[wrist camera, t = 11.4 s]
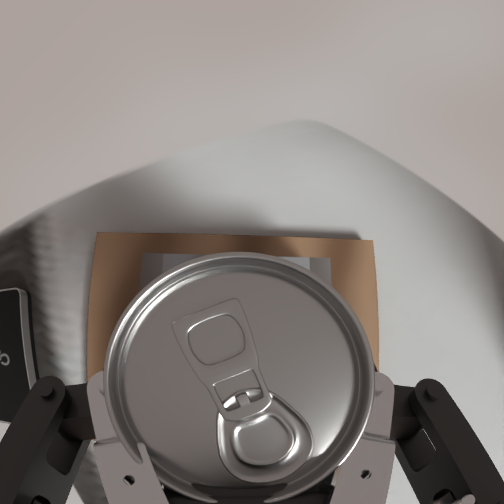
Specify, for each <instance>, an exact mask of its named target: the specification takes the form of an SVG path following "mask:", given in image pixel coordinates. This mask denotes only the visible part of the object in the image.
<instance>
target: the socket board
mask: <svg viewBox="0 0 504 504" xmlns="http://www.w3.org/2000/svg"><path fill="white" fill-rule="evenodd" d="M225 252H252V253H261V254H266V255H271V256H275V257H279V258H282V259H285V260H288V261H291V262H293V263H295V264H298V265H300V266H302V267H304V268H306V269H308V270H310V271H311V272H313V273H315V274H316V275H318V276H319V277H321V278H322V279H323V280H325V281H326V282H327V283H328V284H330V285H331V286H332V287H333V288H334V289H335V290H336V291H337V292H338V293H339V294H340V295H341V296H342V297H343V298H344V299H345V300H346V301H347V303H348V304H349V305H350V307H351V308H352V309H353V311H354V312H355V314H356V315H357V317H358V319H359V320H360V322H361V324H362V326H363V328H364V330H365V333H366V335H367V338H368V340H369V343H370V347H371V350H372V355H373V360H374V364H375V366H376V368H377V371H378V372H379V321H378V297H377V281H376V268H375V257H374V247H373V240H355V239H332V238H307V237H280V236H250V235H214V234H171V233H104V232H97V236H96V242H95V249H94V257H93V265H92V274H91V284H90V296H89V310H88V331H87V381H88V382H89V380H90V378H91V377H92V376H93V375H95V374H96V373H98V372H100V371H102V370H103V368H104V362H105V356H106V351H107V347H108V344H109V340H110V338H111V335H112V333H113V330H114V328H115V326H116V324H117V322H118V320H119V318H120V317H121V315H122V313H123V312H124V310H125V309H126V307H127V306H128V305H129V304H130V302H131V301H132V300H133V299H134V298H135V296H136V295H137V294H138V293H139V292H140V291H141V290H142V289H143V288H144V287H145V286H147V285H148V284H149V283H150V282H151V281H153V280H154V279H155V278H157V277H158V276H160V275H161V274H163V273H164V272H166V271H168V270H170V269H171V268H173V267H175V266H177V265H179V264H182V263H184V262H187V261H189V260H192V259H195V258H198V257H202V256H206V255H211V254H217V253H225ZM92 440H95V441H96V439H92Z"/></svg>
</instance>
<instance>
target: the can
mask: <svg viewBox="0 0 504 504" xmlns="http://www.w3.org/2000/svg"><path fill="white" fill-rule="evenodd" d="M103 386H104V396H105V402H106V406H107V410H108V414H109V417H110V420H111V423H112V425H113V428H114V430H115V432H116V434H117V436H118V438H119V440H120V441H121V443H122V445H123V446H124V448H125V449H126V451H127V452H128V453H129V455H130V456H131V457H132V458H133V460H134V461H135V462H136V463H138V464H143V460H142V457H141V454H140V451H139V449H138V445H137V442H141V443H143V444H145V447H146V449H147V451H148V453H149V455H150V458H151V460H152V463H153V466H154V468H155V471H156V473H157V476H158V478H159V480H160V482H161V484H162V485H163V486H165V487H167V488H168V489H170V490H172V491H174V492H176V493H178V494H180V495H182V496H184V497H187V498H189V499H192V500H195V501H199V502H205V503H216V502H218V501H216V500H214V499H212V498H210V497H209V496H212V495H209V494H206V493H204V492H202V491H200V490H198V489H196V488H194V487H193V486H192V485H191V484H196V485H200V486H206V487H213V488H223V489H257V488H267V487H273V486H279V485H284V484H288V485H287V486H286V487H285V488H283V489H282V490H280V491H278V492H275V493H273V494H270V495H274V496H272V497H270V498H268V499H266V500H264V502H266V503H273V502H281V501H285V500H288V499H290V498H293V497H295V496H298V495H300V494H302V493H304V492H306V491H308V490H310V489H311V488H313V487H315V486H316V485H318V484H319V483H321V482H322V481H323V480H325V479H326V478H327V477H329V476H330V475H331V474H332V473H333V472H334V471H335V470H336V469H337V468H338V467H339V466H340V465H341V464H342V463H343V462H344V461H345V460H346V459H347V457H348V456H349V455H350V454H351V452H352V451H353V449H354V448H355V446H356V445H357V443H358V441H359V440H360V438H361V436H362V434H363V432H364V430H365V427H366V425H367V422H368V420H369V417H370V413H371V409H372V405H373V400H374V393H375V368H374V360H373V355H372V350H371V347H370V343H369V340H368V338H367V335H366V333H365V330H364V328H363V326H362V324H361V322H360V320H359V319H358V317H357V315H356V314H355V312H354V311H353V309H352V308H351V307H350V305H349V304H348V303H347V301H346V300H345V299H344V298H343V297H342V296H341V295H340V294H339V293H338V292H337V291H336V290H335V289H334V288H333V287H332V286H331V285H330V284H328V283H327V282H326V281H325V280H323V279H322V278H321V277H319V276H318V275H316V274H315V273H313V272H311V271H310V270H308V269H306V268H304V267H302V266H300V265H298V264H295V263H293V262H291V261H288V260H285V259H282V258H279V257H275V256H271V255H266V254H261V253H252V252H225V253H217V254H211V255H206V256H202V257H198V258H195V259H192V260H189V261H187V262H184V263H182V264H179V265H177V266H175V267H173V268H171V269H170V270H168V271H166V272H164V273H163V274H161V275H160V276H158V277H157V278H155V279H154V280H153V281H151V282H150V283H149V284H148V285H147V286H145V287H144V288H143V289H142V290H141V291H140V292H139V293H138V294H137V295H136V296H135V298H134V299H133V300H132V301H131V302H130V304H129V305H128V306H127V307H126V309H125V310H124V312H123V313H122V315H121V317H120V318H119V320H118V322H117V324H116V326H115V328H114V330H113V333H112V335H111V338H110V340H109V344H108V347H107V351H106V356H105V362H104V371H103Z"/></svg>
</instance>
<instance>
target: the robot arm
mask: <svg viewBox="0 0 504 504" xmlns="http://www.w3.org/2000/svg"><path fill="white" fill-rule="evenodd" d="M374 368H375V393H374V400H373V405H372V409H371V413H370V417H369V420H368V422H367V425H366V427H365V430H364V432H363V434H362V436H361V438H360V440H359V441H358V443H357V445H356V446H355V448H354V449H353V451H352V452H351V454H350V455H349V456H348V457H347V459H346V460H345V461H344V462H343V463H342V464H341V465H340V466H339V467H338V468H337V469H336V470H335V471H334V472H333V473H332V474H331V475H330V476H329V477H327V478H326V479H325V480H323V481H322V482H321V483H319V484H318V485H316V486H315V487H313V488H311V489H310V490H308V491H306V492H304V493H302V494H300V495H298V496H295V497H293V498H290V499H288V500H285V501H281V502H273V503H266V502H264V500H266V499H268V498H270V497H272V496H274V495H270V494H273V493H275V492H278V491H280V490H282V489H283V488H285V487H286V486H287V485H288V484H284V485H279V486H273V487H267V488H257V489H223V488H213V487H206V486H200V485H196V484H191V485H192V486H193V487H194V488H196V489H198V490H200V491H202V492H204V493H206V494H209V495H212V496H209V497H210V498H212V499H214V500H216V501H218V502H216V503H205V502H199V501H195V500H192V499H189V498H187V497H184V496H182V495H180V494H178V493H176V492H174V491H172V490H170V489H168V488H167V487H165V486H163V485H162V484H161V482H160V480H159V478H158V476H157V473H156V471H155V468H154V466H153V463H152V460H151V458H150V455H149V453H148V451H147V449H146V447H145V444H143V443H141V442H137V445H138V449H139V451H140V454H141V457H142V460H143V464H138V463H136V462H135V461H134V460H133V458H132V457H131V456H130V455H129V453H128V452H127V451H126V449H125V448H124V446H123V445H122V443H121V441H120V440H119V438H118V436H117V434H116V432H115V430H114V428H113V425H112V423H111V420H110V417H109V414H108V410H107V406H106V402H105V396H104V386H103V371H104V368H103V370H102V371H100V372H98V373H96V374H95V375H93V376H92V377H91V378H90V380H89V382H88V383H85V384H79V385H69V386H65V385H64V384H63V382H62V381H61V380H60V379H59V378H57V377H54V376H46V377H43V378H41V379H39V380H38V381H37V382H36V383H35V384H34V385H33V387H32V388H31V390H30V391H29V393H28V395H27V396H26V398H25V400H24V401H23V403H22V405H21V406H20V408H19V410H18V411H17V413H16V415H15V417H14V418H13V420H12V422H11V424H10V426H9V427H8V429H7V431H6V433H5V435H4V437H3V438H2V440H1V442H0V504H65V503H66V500H67V498H68V495H69V492H70V490H71V487H72V485H73V482H74V480H75V477H76V475H77V472H78V470H79V467H80V465H81V462H82V460H83V458H84V455H85V453H86V450H87V448H88V446H89V443H90V441H91V439H96V443H94V446H93V448H94V454H95V458H96V462H97V466H98V469H99V473H100V476H101V480H102V483H103V486H104V490H105V493H106V496H107V499H108V502H109V504H385V503H386V498H387V494H388V489H389V484H390V478H391V473H392V467H393V461H394V454H395V455H396V457H397V459H398V461H399V462H400V464H401V466H402V468H403V470H404V472H405V474H406V476H407V478H408V480H409V482H410V484H411V486H412V488H413V490H414V492H415V494H416V497H417V499H418V501H419V503H420V504H504V481H503V479H502V478H501V476H500V474H499V472H498V471H497V469H496V467H495V465H494V464H493V462H492V460H491V458H490V457H489V455H488V453H487V452H486V450H485V448H484V447H483V445H482V444H481V442H480V440H479V439H478V437H477V435H476V434H475V432H474V431H473V429H472V428H471V426H470V424H469V423H468V421H467V420H466V418H465V417H464V415H463V414H462V412H461V411H460V409H459V408H458V406H457V405H456V403H455V402H454V400H453V399H452V397H451V396H450V395H449V393H448V392H447V390H446V389H445V387H444V386H443V385H442V384H441V383H440V382H438V381H436V380H434V379H423V380H421V381H419V382H418V384H417V385H416V386H415V387H407V386H399V385H394V384H393V383H392V381H391V380H390V379H389V378H388V377H387V376H386V375H384V374H382V373H379V372H378V371H377V368H376V366H375V364H374ZM423 429H424V430H425V431H424V430H423ZM425 432H426V433H427V435H428V436H427V435H426V433H425ZM428 437H429V438H428ZM429 439H430V440H431V442H432V443H431V442H430V440H429ZM432 444H433V445H432ZM433 446H434V447H435V449H436V450H435V449H434V447H433Z"/></svg>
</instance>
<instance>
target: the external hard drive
mask: <svg viewBox="0 0 504 504" xmlns="http://www.w3.org/2000/svg"><path fill="white" fill-rule="evenodd" d="M38 380H39V374H38V368H37V361H36V354H35V346H34V337H33V327H32V314H31V297H30V294H29V293H28V292H27V291H25V290H22V289H19V288H9V289H2V290H0V422H2V423H8V424H11V422H12V420H13V418H14V417H15V415H16V413H17V411H18V410H19V408H20V406H21V405H22V403H23V401H24V400H25V398H26V396H27V395H28V393H29V391H30V390H31V388H32V387H33V385H34V384H35V383H36V382H37V381H38Z"/></svg>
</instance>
